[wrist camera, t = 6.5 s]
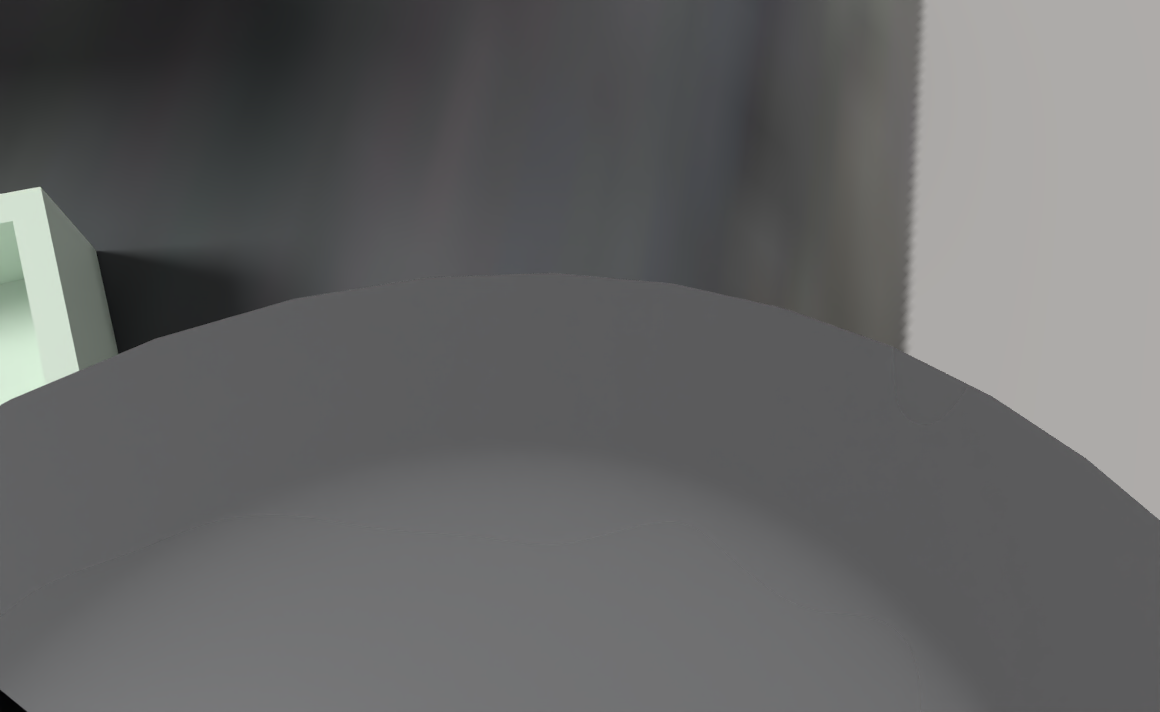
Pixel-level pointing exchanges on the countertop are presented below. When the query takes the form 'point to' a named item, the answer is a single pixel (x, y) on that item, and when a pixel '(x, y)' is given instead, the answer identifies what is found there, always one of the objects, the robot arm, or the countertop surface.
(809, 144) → the countertop surface
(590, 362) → the steel canister
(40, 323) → the tray
